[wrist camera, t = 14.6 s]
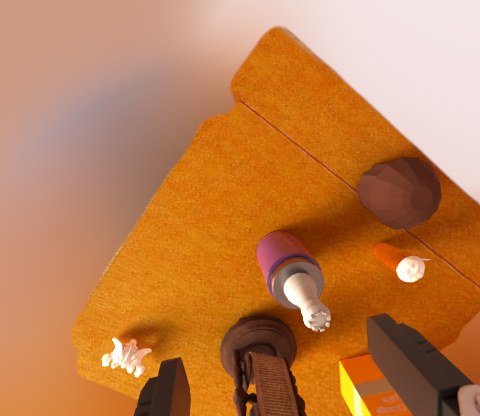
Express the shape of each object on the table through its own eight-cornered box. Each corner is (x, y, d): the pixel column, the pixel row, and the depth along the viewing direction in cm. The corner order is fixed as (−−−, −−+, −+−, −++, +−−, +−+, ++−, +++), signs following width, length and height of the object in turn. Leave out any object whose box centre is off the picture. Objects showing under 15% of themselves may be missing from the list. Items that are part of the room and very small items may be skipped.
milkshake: (400, 244, 52) (443, 268, 42) (380, 265, 52) (418, 293, 43) (385, 231, 51) (425, 252, 41) (365, 252, 51) (400, 277, 42)
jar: (252, 235, 48) (264, 263, 37) (298, 226, 49) (322, 251, 38) (259, 277, 51) (273, 315, 39) (303, 268, 51) (328, 303, 40)
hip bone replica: (94, 372, 48) (106, 345, 46) (105, 353, 52) (116, 327, 50) (138, 386, 49) (151, 360, 47) (145, 366, 53) (157, 341, 51)
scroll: (302, 317, 54) (352, 417, 34) (281, 378, 57) (316, 500, 37) (230, 304, 51) (241, 403, 32) (212, 368, 54) (211, 493, 35)
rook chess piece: (296, 265, 37) (317, 297, 29) (320, 281, 38) (347, 316, 30) (276, 290, 38) (292, 327, 30) (300, 305, 39) (322, 345, 31)
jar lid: (266, 261, 39) (269, 267, 37) (316, 251, 39) (321, 256, 37) (273, 306, 41) (276, 314, 39) (321, 296, 41) (326, 303, 39)
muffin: (420, 192, 50) (471, 204, 40) (372, 230, 50) (409, 251, 41) (388, 141, 47) (434, 141, 37) (337, 182, 48) (369, 192, 38)
